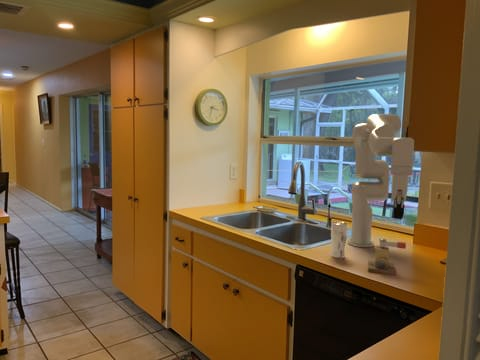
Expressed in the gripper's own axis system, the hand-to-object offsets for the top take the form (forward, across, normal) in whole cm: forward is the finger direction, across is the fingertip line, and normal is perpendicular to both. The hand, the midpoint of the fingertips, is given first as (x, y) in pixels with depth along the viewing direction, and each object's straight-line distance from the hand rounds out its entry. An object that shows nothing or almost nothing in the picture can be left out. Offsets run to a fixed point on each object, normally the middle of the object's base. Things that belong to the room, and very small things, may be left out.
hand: (398, 216), depth 147 cm
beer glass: (+24, -17, -25) cm, 38 cm away
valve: (+24, -7, -6) cm, 25 cm away
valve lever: (+14, -7, -2) cm, 16 cm away
